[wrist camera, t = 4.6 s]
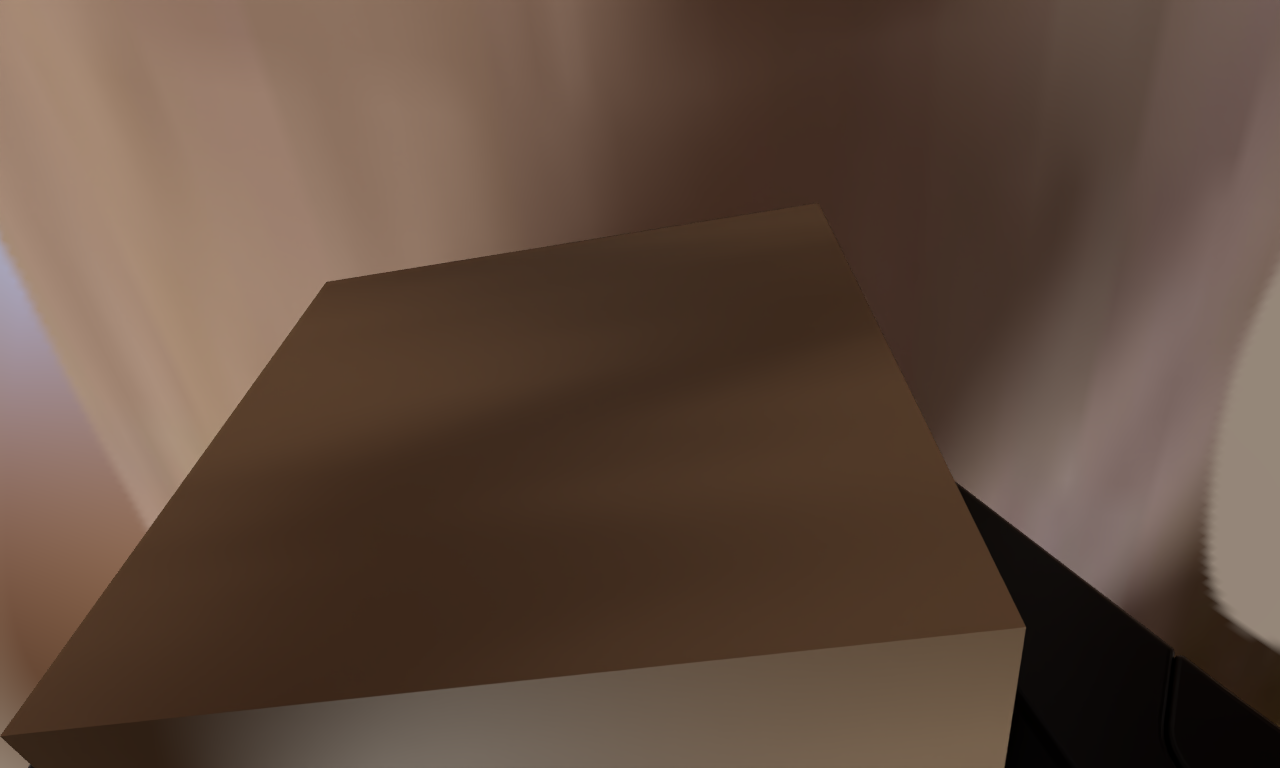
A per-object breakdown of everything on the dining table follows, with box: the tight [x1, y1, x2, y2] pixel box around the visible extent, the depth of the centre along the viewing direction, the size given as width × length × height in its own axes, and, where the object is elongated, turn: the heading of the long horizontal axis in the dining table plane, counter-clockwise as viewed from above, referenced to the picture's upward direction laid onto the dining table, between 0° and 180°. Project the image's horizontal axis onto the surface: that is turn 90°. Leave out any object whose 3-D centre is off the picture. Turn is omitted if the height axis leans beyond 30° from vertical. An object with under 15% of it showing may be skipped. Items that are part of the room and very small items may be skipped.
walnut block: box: [1, 203, 1026, 768], centre depth 7 cm, size 5×5×5 cm
